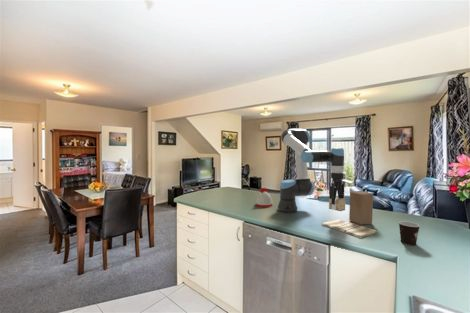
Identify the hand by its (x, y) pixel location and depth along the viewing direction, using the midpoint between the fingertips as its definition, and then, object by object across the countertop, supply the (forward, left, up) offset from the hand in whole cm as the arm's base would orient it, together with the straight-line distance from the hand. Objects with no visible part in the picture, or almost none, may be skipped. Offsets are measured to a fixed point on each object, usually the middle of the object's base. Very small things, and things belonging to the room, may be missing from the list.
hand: (336, 208), depth 148 cm
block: (+6, +18, -11) cm, 22 cm away
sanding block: (0, 0, 0) cm, 0 cm away
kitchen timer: (-63, -6, -11) cm, 64 cm away
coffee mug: (+36, +5, -11) cm, 38 cm away
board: (+8, 0, -11) cm, 13 cm away
